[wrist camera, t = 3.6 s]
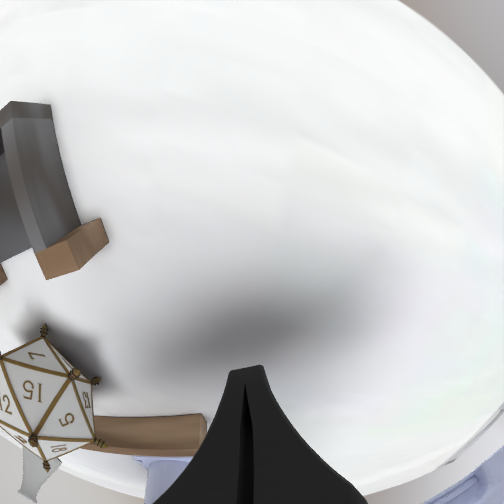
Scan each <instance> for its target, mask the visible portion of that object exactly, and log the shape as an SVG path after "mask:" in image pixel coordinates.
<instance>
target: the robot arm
mask: <svg viewBox="0 0 504 504" xmlns="http://www.w3.org/2000/svg"><path fill="white" fill-rule="evenodd" d="M133 458H134V459H135V460H136V461H137V462H139V463H140V464H141V465H143V466H144V467H145V468H147V469H148V477H147V484H146V491H145V499H144V504H368V503H367V501H366V500H365V498H364V497H363V496H362V495H361V494H360V493H359V491H358V490H357V489H356V488H355V487H354V486H353V485H352V484H351V483H350V482H349V481H347V480H346V479H345V478H343V477H342V476H341V475H340V474H338V473H337V472H336V471H335V470H334V469H333V468H331V467H330V466H329V465H328V464H327V463H326V462H325V461H324V460H323V459H322V458H321V457H320V456H319V455H318V454H317V453H316V452H315V451H314V450H313V449H312V448H311V447H310V446H309V445H308V444H307V443H306V442H305V440H304V439H303V438H302V437H301V436H300V434H299V433H298V432H297V431H296V429H295V428H294V427H293V425H292V424H291V423H290V421H289V420H288V418H287V417H286V415H285V414H284V412H283V411H282V409H281V408H280V406H279V404H278V402H277V401H276V399H275V397H274V395H273V393H272V391H271V389H270V386H269V382H268V379H267V376H266V373H265V370H264V367H263V366H262V365H256V366H252V367H247V368H242V369H237V370H231V371H230V372H229V375H228V379H227V383H226V387H225V390H224V393H223V396H222V399H221V402H220V404H219V407H218V410H217V412H216V415H215V417H214V419H213V422H212V424H211V426H210V428H209V430H208V432H207V434H206V436H205V438H204V440H203V442H202V444H201V445H200V447H199V449H198V450H197V452H196V453H195V455H194V456H192V457H155V456H136V455H133ZM421 504H504V446H502V447H501V448H500V449H499V450H498V451H497V452H496V453H494V454H493V455H492V456H491V457H489V458H488V459H487V460H486V461H484V462H483V463H482V464H481V465H480V466H478V467H477V468H476V469H475V470H474V471H473V472H472V473H470V474H469V475H467V476H466V477H465V478H463V479H462V480H460V481H459V482H457V483H456V484H454V485H453V486H451V487H449V488H448V489H446V490H444V491H443V492H441V493H439V494H438V495H436V496H434V497H432V498H431V499H429V500H427V501H425V502H424V503H421Z"/></svg>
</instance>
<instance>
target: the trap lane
mask: <svg viewBox="0 0 504 504" xmlns="http://www.w3.org/2000/svg"><path fill="white" fill-rule="evenodd" d="M107 243H109V240H108V238H107V235H106V233H105V230H104V227H103V224H102V222H101V219H100V218H99V219H96V220H93V221H91V222H88V223H86V224H83V225H81V224H80V221H79V218H78V216H77V213H76V210H75V207H74V204H73V200H72V197H71V194H70V191H69V188H68V184H67V181H66V177H65V173H64V170H63V166H62V162H61V158H60V154H59V149H58V145H57V140H56V136H55V130H54V125H53V120H52V114H51V107H50V105H47V104H38V103H29V102H17V101H10V102H9V103H8V104H7V105H6V106H5V107H3V108H2V109H1V110H0V263H1V262H3V261H5V260H7V259H9V258H11V257H13V256H15V255H17V254H19V253H21V252H23V251H25V250H27V249H29V248H33V251H34V253H35V256H36V258H37V260H38V263H39V265H40V267H41V270H42V272H43V274H44V276H45V278H46V280H49V279H52V278H55V277H58V276H61V275H64V274H67V273H71V272H74V271H77V270H79V269H81V268H82V267H83V266H84V265H85V264H86V263H87V262H88V261H89V260H90V259H91V258H92V257H93V256H94V255H95V254H96V253H97V252H99V251H100V250H101V249H102V248H103V247H104V246H105V245H106V244H107ZM6 280H7V278H6V276H5V273H4V271H3V269H2V266H1V264H0V285H1V284H3V283H4V282H5V281H6ZM94 425H95V434H96V438H98V439H101V440H102V441H105V443H106V445H107V446H108V448H100V446H97V444H96V443H95V442H92V443H90V444H88V445H86V446H83V447H81V448H82V449H87V450H93V451H100V452H107V453H115V454H124V455H136V456H155V457H192V456H194V455H195V453H196V452H197V450H198V449H199V447H200V445H201V444H202V442H203V440H204V438H205V436H206V434H207V421H206V420H205V419H204V417H203V416H202V414H193V415H182V416H166V417H102V416H94Z"/></svg>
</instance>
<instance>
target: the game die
mask: <svg viewBox="0 0 504 504" xmlns="http://www.w3.org/2000/svg"><path fill="white" fill-rule="evenodd" d="M40 329H41V331H40V333H41V337H39V338H37V339H35V340H33V341H30V342H28V343H26V344H24V345H22V346H20V347H18V348H16V349H13V350H11V351H9V352H7V353H5V354H3V355H1V352H0V427H1V428H2V429H3V430H4V431H6V432H7V433H8V434H9V435H10V436H11V437H13V438H14V439H15V440H16V441H18V442H19V443H20V444H21V445H23V446H24V447H25V448H27V449H28V450H29V451H31V452H32V453H33V454H35V455H36V456H38V457H39V458H40V459H42V460H43V463H42V464H43V468H44V469H45V470H46V472H47V473H48V472H49V470H50V469H51V468H50V464H49V463H48V461H49V460H52V459H54V458H57V457H60V456H62V455H65V454H67V453H69V452H72V451H74V450H77V449H79V448H81V447H83V446H86V445H88V444H90V443H92V442H95V443H96V444H97V446H100V448H108V446H107V445H106V443H105V441H102V440H101V439H98V438H96V434H95V425H94V414H93V400H92V385H95V386H96V384H98V385H99V382H100V380H101V379H100V378H97V377H94V378H92V379H91V380H89V379H87V378H86V377H85V376H84V375H83V374H82V373H81V372H80V370H78V369H76V368H75V367H74V366H73V365H72V364H71V363H70V362H69V361H68V360H67V359H66V358H65V357H64V356H63V355H62V354H61V353H60V352H59V351H58V350H57V349H56V348H55V347H54V346H53V345H52V344H51V343H50V342H49V341H48V340H47V339H46V335H47V334H48V333H47V331H48V330H47V327H46V325H45V324H44V325H43V326H42V328H40Z"/></svg>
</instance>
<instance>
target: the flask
mask: <svg viewBox="0 0 504 504" xmlns="http://www.w3.org/2000/svg"><path fill="white" fill-rule="evenodd" d="M42 463H43V460H42V459H40V458H39V457H38V456H36V455H35V454H33V453H32V452H31V451H29V450H28V449H27V448H25V447H24V446H23V481H22V486H21V489H20V490H18V493H19V494H21V495H22V496H24V497H26V498H27V499H29V500H31V501H32V502H34V503H37V501H36V496H37V493H38V491H39V489H40V487H41V486H42V485H43V484H44V482H45V481H46V480H47V479H48V478H49V477H50V475H52V474H53V473H54V472H55V471H56V470H57V469H58V468H59V466H60V465H61V462H60V461H59V460H58V459H57V458H54V459H52V460H49V461H48V463H49V464H50V468H51V469H50V470H49V472H48V473H47V472H46V470H45V469H44V468H43V464H42Z"/></svg>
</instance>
